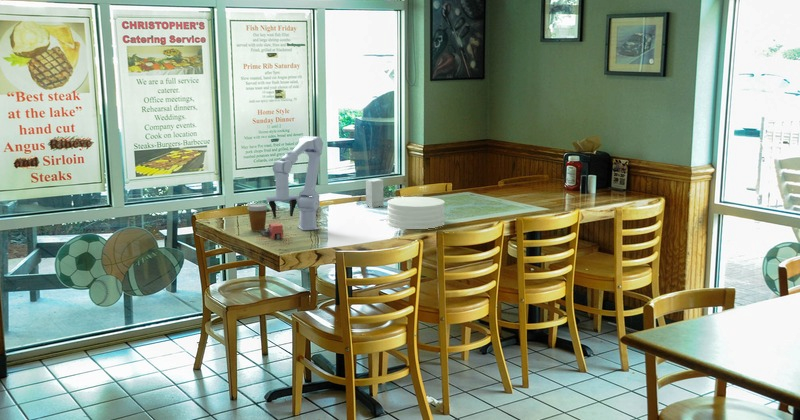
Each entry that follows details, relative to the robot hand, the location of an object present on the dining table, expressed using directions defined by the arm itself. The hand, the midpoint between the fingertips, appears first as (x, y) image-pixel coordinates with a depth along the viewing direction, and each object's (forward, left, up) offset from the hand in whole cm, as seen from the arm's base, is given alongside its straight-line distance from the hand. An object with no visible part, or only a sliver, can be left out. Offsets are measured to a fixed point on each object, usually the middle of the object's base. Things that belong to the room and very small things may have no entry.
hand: (283, 216), depth 382 cm
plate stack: (-5, +68, -10) cm, 69 cm away
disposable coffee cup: (-19, -8, -10) cm, 23 cm away
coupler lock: (0, -4, -9) cm, 10 cm away
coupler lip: (-3, -4, -9) cm, 10 cm away
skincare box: (-57, +65, -10) cm, 87 cm away
